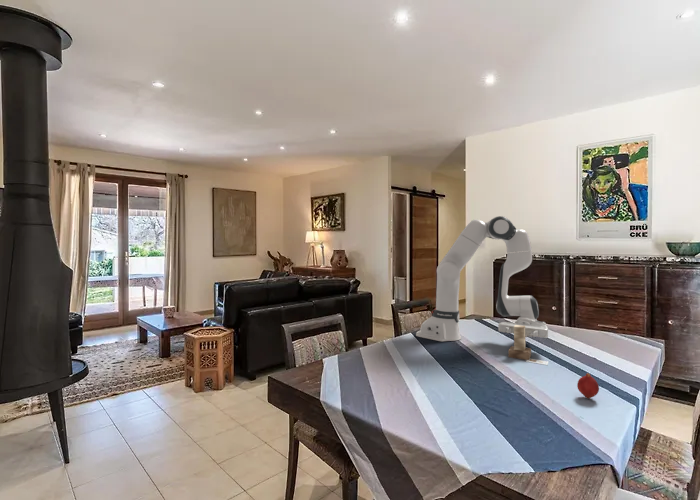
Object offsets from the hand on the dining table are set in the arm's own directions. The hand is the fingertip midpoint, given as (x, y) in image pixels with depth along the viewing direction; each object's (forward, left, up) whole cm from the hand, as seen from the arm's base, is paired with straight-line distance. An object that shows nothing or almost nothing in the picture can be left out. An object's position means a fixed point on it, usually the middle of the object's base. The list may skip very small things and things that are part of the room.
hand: (520, 333), depth 161 cm
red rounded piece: (+24, -36, -10) cm, 44 cm away
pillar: (0, -1, -7) cm, 7 cm away
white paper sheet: (+7, -5, -10) cm, 13 cm away
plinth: (0, -1, -10) cm, 10 cm away
